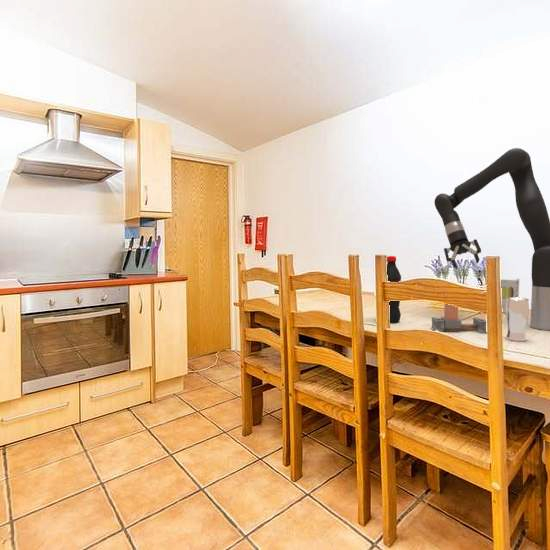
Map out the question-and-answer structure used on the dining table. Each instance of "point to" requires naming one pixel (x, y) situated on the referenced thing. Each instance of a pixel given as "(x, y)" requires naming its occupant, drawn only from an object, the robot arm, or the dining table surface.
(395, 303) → the cola bottle
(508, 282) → the supplement box
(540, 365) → the dining table surface
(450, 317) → the tall salmon pink pillar
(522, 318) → the beer glass
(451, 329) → the rail
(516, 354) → the dining table surface
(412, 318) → the dining table surface
